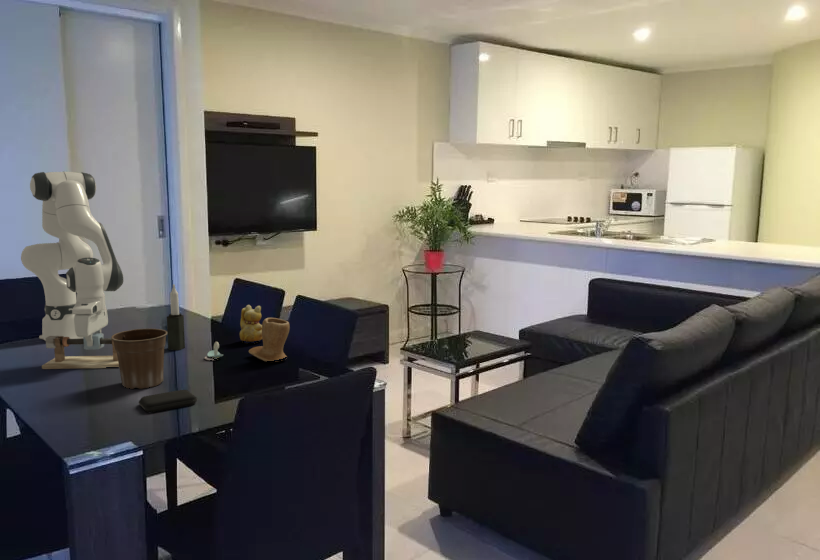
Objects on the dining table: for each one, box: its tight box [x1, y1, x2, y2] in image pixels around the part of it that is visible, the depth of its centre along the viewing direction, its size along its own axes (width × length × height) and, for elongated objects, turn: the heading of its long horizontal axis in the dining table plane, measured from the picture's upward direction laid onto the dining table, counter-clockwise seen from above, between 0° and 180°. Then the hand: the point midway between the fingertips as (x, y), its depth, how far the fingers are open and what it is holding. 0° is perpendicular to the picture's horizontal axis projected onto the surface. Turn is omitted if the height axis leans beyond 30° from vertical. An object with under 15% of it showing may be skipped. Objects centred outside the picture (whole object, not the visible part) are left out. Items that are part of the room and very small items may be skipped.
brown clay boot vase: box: [248, 317, 291, 362], centre depth 239 cm, size 15×12×15 cm
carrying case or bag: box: [138, 389, 198, 413], centre depth 190 cm, size 11×3×15 cm
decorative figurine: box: [239, 304, 263, 342], centre depth 262 cm, size 10×8×15 cm
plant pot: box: [111, 328, 168, 390], centre depth 208 cm, size 16×16×16 cm
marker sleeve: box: [82, 332, 105, 350], centre depth 230 cm, size 5×5×5 cm
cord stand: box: [41, 336, 119, 370], centre depth 231 cm, size 12×26×10 cm, turn 95°
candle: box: [166, 283, 186, 351], centre depth 251 cm, size 5×5×25 cm
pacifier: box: [204, 341, 224, 361], centre depth 239 cm, size 7×6×6 cm
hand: (93, 343), depth 230 cm, fingers closed on marker sleeve, 5 cm apart
